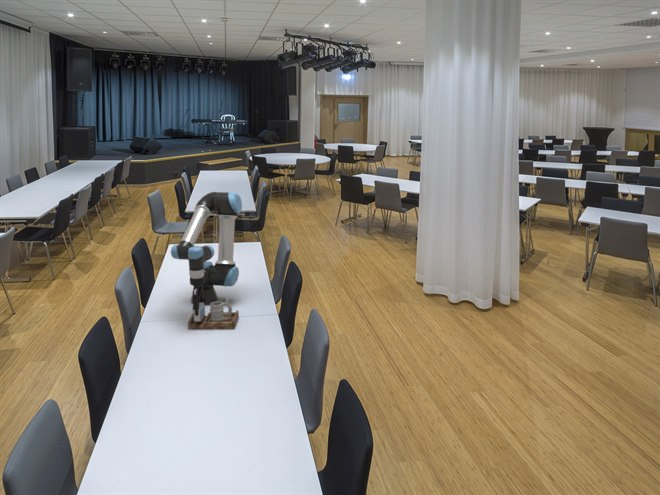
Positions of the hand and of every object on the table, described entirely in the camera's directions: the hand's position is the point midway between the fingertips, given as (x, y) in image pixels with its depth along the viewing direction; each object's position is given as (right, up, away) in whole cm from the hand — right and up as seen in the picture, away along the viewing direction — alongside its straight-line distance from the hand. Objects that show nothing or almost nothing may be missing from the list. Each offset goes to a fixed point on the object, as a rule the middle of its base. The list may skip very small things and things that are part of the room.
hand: (199, 317), depth 290 cm
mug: (+11, -2, +1) cm, 12 cm away
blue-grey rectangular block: (0, 0, 0) cm, 0 cm away
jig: (+7, -3, +1) cm, 8 cm away
